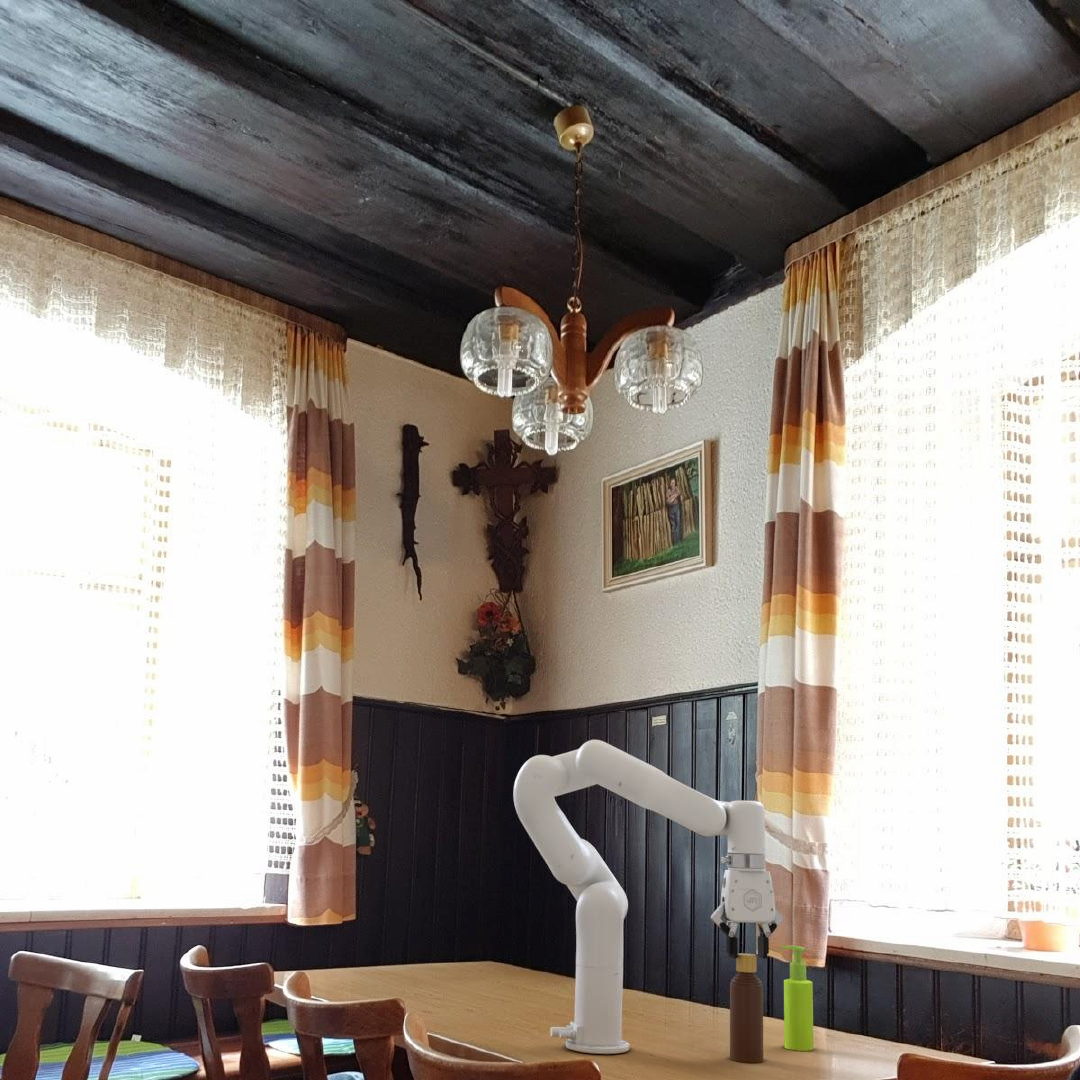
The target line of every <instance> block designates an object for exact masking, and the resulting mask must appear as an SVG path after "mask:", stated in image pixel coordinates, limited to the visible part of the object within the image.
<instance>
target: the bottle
mask: <svg viewBox="0 0 1080 1080" xmlns="http://www.w3.org/2000/svg"><path fill="white" fill-rule="evenodd" d="M729 1059H730V1060H731V1061H734V1062H738V1063H745V1064H746V1063H747V1064H757V1063H758V1064H759V1063H763V1062H764V984H763V981H762V980H760V978H759V977H758V975H756V972H752V973H750V972H739V971H737V974H735V976H733V978H731V979H730V982H729Z"/></svg>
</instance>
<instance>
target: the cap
mask: <svg viewBox="0 0 1080 1080" xmlns="http://www.w3.org/2000/svg"><path fill="white" fill-rule="evenodd" d="M757 960H758V959H757V955H756V954H754V953H746V952H745V953H744V952H743V953H739V952H738V958H737V959H735V970H736V972H750V973H752V972H753V973H757V971H758V969H757V967H758V964H757V962H758V961H757Z"/></svg>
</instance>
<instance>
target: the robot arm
mask: <svg viewBox="0 0 1080 1080" xmlns="http://www.w3.org/2000/svg"><path fill="white" fill-rule="evenodd" d="M596 785H599V786H600V787H602V788H604V789H607V790H608V791H610V792H613V793H614V794H616V795H618V796H620V797H622V798H623V799H625V800H628V801H630V802H631V803H633V804H635V805H638V806H640V807H641V808H643V809H646V810H649V811H652V812H655V813H657V814H659V815H660V816H662V817H665V818H667V819H669V820H671V821H673V822H675V823H676V824H679V825H681V826H683V827H684V828H686V829H688V830H691V831H692V832H694V833H696V834H698V835H700V836H703V837H716V836H727V853H726V855H725V856H721V857H720V861H721V864H724V865H726V867H727V869H724V873H723V877H722V885H721V893H720V894H721V895H720V904H719V906H718V907H717V908H716V909H715V910H714V912H713V913H712V914H711V916H710V920H711V921H712V922H713V923H714V924H715V925H716V926H717V927H718V929H720V930H721V932H722V933H723V934H724V936H725V937H726V953H727V954H728V958H730V959H735V960H736V959H737V958H738V953H739V951H738V949H739V947H738V945H739V943H738V942H739V941H738V937H737V936H736V932H737V928H738V925H739V923H751V924H752V923H754V924H755V923H756V926H757V929H758V932H759V935H758V936H757V957H758V958H759V959H760V958H761V959H764V960H767V959H768V954H769V953H770V938H771V936H772V934H773V933H774V932H775V930H777V928H778V927H779V926H780V925H781V924H782V923H783V922H784V921H785V920H784V916H783V915H782V914H781V913H780V911H779V910H778V909H777V908H776V902H775V901H776V900H775V894H774V893H775V891H774V886H773V881H772V880H773V879H772V875H771V871H770V870H766V869H767V868H766V821H765V820H766V817H765V816H766V814H765V806H764V804H763V803H762V802H760V801H758V800H732V801H724V800H716V799H714V798H713V797H711V796H708V795H706V794H704V793H702V792H700V791H698V790H696V789H694V788H692V787H690V786H688V785H686V784H684V783H682V782H680V781H678V780H676V779H675V778H673V777H671V776H670V775H668V774H666V772H664V771H662V770H661V769H659V768H657V767H656V766H653V765H651V764H650V763H648V762H645V761H644V760H642V759H639V758H637V757H635V756H634V755H632V754H629V753H627V752H626V751H624V750H621V749H619V748H617V747H615V746H613V745H612V744H610V743H608V742H606V741H603V740H600V739H590V740H587V741H586V742H584V743H583V744H582V745H580V747H579V748H577V749H574V750H571V751H567V752H564V753H561V754H556V755H554V756H553V755H552V756H550V755H547V754H538V755H534V756H532V757H530V758H529V759H528V760H526V761H525V762H524V763H523V765H522V766H520V769H519V771H518V772H517V775H516V777H515V781H514V784H513V790H512V791H513V793H512V794H513V795H512V796H513V797H512V798H513V804H514V808H515V809H514V810H515V811H516V814H517V817H518V819H519V821H520V823H521V824H522V826H523V827H524V829H525V831H526V832H527V834H528V836H529V838H530V839H531V841H532V842H533V844H534V846H535V848H536V849H537V850H538V852H539V854H540V856H541V857H542V858H543V860H544V861H545V863H546V864H547V866H548V868H549V870H550V873H552V875H553V877H554V878H555V879H556V880H557V881H558V882H560V883H561V884H563V885H566V887H567V888H568V890H569V891H570V893H571V894H572V896H573V897H574V899H575V901H576V908H575V929H576V930H575V935H576V937H575V939H576V946H575V947H576V948H575V949H576V950H575V951H576V952H575V984H574V985H575V986H574V987H575V989H574V993H575V994H574V1019H573V1020H574V1021H570V1023H569V1024H567V1025H565V1027H564V1026H562V1027H561V1026H550V1031H549V1034H550V1038H560V1039H566V1040H565V1047H566V1048H567V1049H568V1050H570V1051H575V1052H578V1053H586V1054H598V1055H614V1054H622V1053H626V1052H628V1051H629V1050H630V1043H629V1042H628V1041H625V1040H623V1037H622V1036H623V992H624V920H625V918H626V917H627V913H628V910H629V901H628V898H627V895H626V892H625V890H624V888H623V887H622V886H621V884H620V883H619V881H618V880H617V879H616V877H615V875H614V874H613V873H612V870H610V868H609V866H608V865H607V864H606V862H605V860H603V857H602V856H601V855H600V853H599V852H598V851H597V848H595V846H593V845H592V844H591V843H590V842H589V841H588V840H586V839H583V838H581V837H580V835H579V834H578V833H577V832H576V830H575V829H574V827H573V826H572V825H571V822H570V821H569V820H568V818H567V816H566V814H565V813H564V812H563V811H562V809H561V808H560V806H559V805H558V803H557V801H556V798H555V797H558V796H562V795H566V794H568V793H572V792H575V791H579V790H582V789H583V790H584V789H586V788H589V787H593V786H596ZM722 919H724V920H725V921H726V922H725V921H723V920H722Z"/></svg>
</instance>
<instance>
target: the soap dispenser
mask: <svg viewBox="0 0 1080 1080" xmlns="http://www.w3.org/2000/svg"><path fill="white" fill-rule="evenodd" d="M778 949H779V950H793V960H792V961H791V962H789V978H786V979H783V1033H784V1034H783V1041H784V1045H783V1047H784V1049H787V1050H791V1051H797V1052H798V1051H799V1052H810V1051H811V1052H812V1051H813V1050H814V1047H815V1046H814V990H813V983H814V982H813V981H811V980H808V979H807V963H805V962H804V961H803V952H804V951H807V949H806V947H805V946H804V947H803V946H799V945H791V944H790V945H783V946H779V947H778Z"/></svg>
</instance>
